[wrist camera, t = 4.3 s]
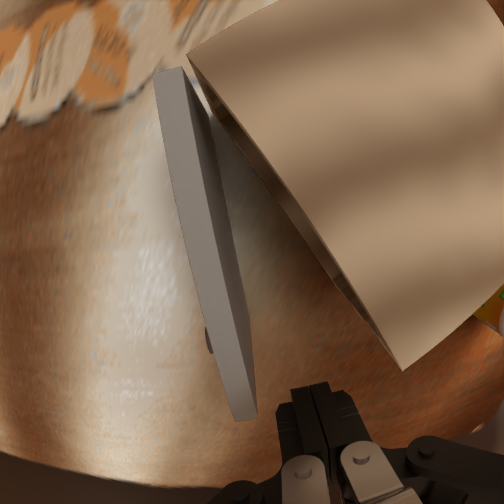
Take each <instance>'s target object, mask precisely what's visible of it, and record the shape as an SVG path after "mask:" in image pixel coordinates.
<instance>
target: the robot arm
mask: <svg viewBox="0 0 504 504" xmlns="http://www.w3.org/2000/svg"><path fill="white" fill-rule="evenodd" d="M290 392H291V398H292V402H288V403H283V404H279V407H278V409H277V411H276V420H277V427H278V434H279V440H280V447H281V454H282V467H281V469H280V470H279V472H278V473H277V474H276V475H275V476H273V477H272V478H270V479H268V480H266V481H264V482H261V483H259V484H256V483H254V482H251V481H245V480H241V481H235V482H232V483H230V484H228V485H226V486H225V487H224V488H223V489H222V490H221V491H220V492H219V493H218V494H217V495H216V496H215V497H214V498H213V499H212V500H211V501H210V502H209V503H207V504H330V499H329V492H328V486H330V480H331V484H332V485H334V484H338V483H339V486H340V490H341V500H342V502H343V504H504V455H501V454H497V453H493V452H489V451H485V450H481V449H477V448H473V447H469V446H466V445H462V444H459V443H455V442H452V441H448V440H445V439H442V438H438V437H435V436H422V437H419V438H416V439H415V440H413V441H412V442H411V443H410V444H409V446H408V447H407V448H398V449H386V448H382V447H379V446H378V445H377V444H375V443H373V441H372V440H371V438H370V436H369V434H368V432H367V430H366V427H365V425H364V423H363V421H362V419H361V417H360V415H359V413H358V410H357V408H356V407H355V404H354V402H353V400H352V398H351V396H350V395H348V394H347V393H346V392H344V391H343V390H341V391H337V392H333V393H332V392H331V389H330V387H329V384H328V382H327V381H326V382H322V383H318V384H313V385H309V387H308V386H305V387H300V388H295V389H290Z"/></svg>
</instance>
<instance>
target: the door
mask: <svg viewBox="0 0 504 504" xmlns="http://www.w3.org/2000/svg"><path fill="white" fill-rule="evenodd" d="M152 75H153V82H154V88H155V94H156V101H157V107H158V113H159V118H160V124H161V130H162V135H163V141H164V146H165V151H166V157H167V162H168V167H169V172H170V177H171V182H172V186H173V191H174V196H175V201H176V205H177V210H178V215H179V219H180V223H181V228H182V232H183V237H184V241H185V245H186V249H187V254H188V258H189V262H190V266H191V270H192V274H193V278H194V282H195V286H196V290H197V294H198V298H199V301H200V305H201V309H202V313H203V317H204V320H205V324H206V327H205V336H206V342H207V346H208V349H209V352H210V353H211V354H213V353H214V356H215V359H216V363H217V366H218V370H219V373H220V376H221V380H222V383H223V386H224V390H225V393H226V396H227V399H228V402H229V406H230V409H231V412H232V415H233V418H234V421H235V422H240V421H246V420H253V419H258V412H257V401H256V389H255V377H254V365H253V353H252V341H251V329H250V318H249V314H248V309H247V304H246V299H245V295H244V290H243V285H242V281H241V276H240V271H239V266H238V261H237V257H236V252H235V247H234V242H233V237H232V232H231V227H230V223H229V218H228V213H227V208H226V203H225V198H224V193H223V188H222V183H221V178H220V173H219V168H218V163H217V157H216V152H215V147H214V142H213V137H212V132H211V126H210V121H209V116H208V114H207V112H206V110H205V108H204V107H203V105H202V103H201V101H200V99H199V97H198V95H197V94H196V92H195V90H194V88H193V86H192V84H191V83H190V81H189V79H188V77H187V75H186V73H185V72H184V70H183V68H182V66H181V67H177V68H173V69H169V70H165V71H162V72H158V73H154V74H152Z"/></svg>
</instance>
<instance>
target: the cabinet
mask: <svg viewBox="0 0 504 504" xmlns="http://www.w3.org/2000/svg"><path fill="white" fill-rule="evenodd" d="M186 55H187V57H188V59H189V62H190V64H191V66H192V68H193V70H194V73H195V75H196V77H197V79H198V82H199V84H200V86H201V88H202V90H203V93H204V95H205V97H206V99H207V102H208V104H209V106H210V108H211V111H212V113H213V114H214V115H215V117H216V118H217V119H218V121H219V122H220V123H221V125H222V126H223V127H224V128H225V130H226V131H227V132H228V134H229V135H230V136H231V138H232V139H233V140H234V142H235V143H236V144H237V146H238V147H239V149H240V150H241V151H242V153H243V154H244V155H245V157H246V158H247V159H248V161H249V162H250V163H251V165H252V166H253V168H254V169H255V170H256V172H257V173H258V174H259V176H260V177H261V179H262V180H263V181H264V183H265V184H266V186H267V187H268V188H269V190H270V191H271V193H272V194H273V195H274V197H275V198H276V200H277V201H278V202H279V204H280V205H281V207H282V208H283V210H284V211H285V212H286V214H287V215H288V217H289V218H290V220H291V221H292V222H293V224H294V225H295V227H296V228H297V230H298V231H299V233H300V234H301V236H302V237H303V238H304V240H305V241H306V243H307V244H308V246H309V247H310V249H311V250H312V252H313V253H314V255H315V256H316V258H317V259H318V261H319V262H320V264H321V265H322V267H323V268H324V270H325V271H326V273H327V274H328V276H329V277H330V279H331V280H332V282H333V283H334V285H335V286H336V287H337V288H338V290H339V291H340V292H341V293H342V295H343V296H344V297H345V298H346V300H347V301H348V302H349V303H350V305H351V306H352V307H353V308H354V310H355V311H356V312H357V313H358V315H359V316H360V317H361V318H362V320H363V321H364V322H365V323H366V325H367V326H368V327H369V328H370V330H371V331H372V332H373V333H374V335H375V336H376V337H377V339H378V340H379V341H380V342H381V344H382V345H383V346H384V348H385V349H386V350H387V351H388V353H389V354H390V355H391V357H392V358H393V359H394V360H395V362H396V363H397V364H398V366H399V367H400V368H401V370H402V371H403V370H404V369H406V368H407V367H409V366H410V365H411V364H413V363H414V362H415V361H417V360H418V359H419V358H420V357H422V356H423V355H424V354H426V353H427V352H428V351H429V350H431V349H432V348H433V347H434V346H436V345H437V344H438V343H439V342H441V341H442V340H443V339H444V338H445V337H447V336H448V335H449V334H450V333H451V332H453V331H454V330H455V329H456V328H457V327H458V326H459V325H461V324H462V323H463V322H464V321H465V320H466V319H467V318H468V317H470V316H471V315H472V314H473V313H474V312H475V311H476V310H477V309H478V308H479V307H480V306H481V305H482V304H484V303H485V302H486V301H487V300H488V299H489V298H490V297H491V296H492V295H493V294H494V293H495V292H496V291H497V290H498V289H499V288H500V287H501V286H502V285H503V284H504V26H503V24H502V23H501V21H500V20H499V18H498V17H497V15H496V14H495V12H494V11H493V9H492V8H491V6H490V5H489V3H488V2H487V0H279V1H277V2H275V3H273V4H271V5H269V6H267V7H265V8H263V9H261V10H259V11H257V12H255V13H254V14H252V15H250V16H248V17H246V18H244V19H242V20H241V21H239V22H237V23H235V24H234V25H232V26H230V27H228V28H227V29H225V30H223V31H222V32H220V33H218V34H217V35H215V36H213V37H212V38H210V39H208V40H207V41H205V42H204V43H202V44H201V45H199V46H197V47H196V48H194V49H193V50H191V51H190V52H188V53H187V54H186Z"/></svg>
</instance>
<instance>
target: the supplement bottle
mask: <svg viewBox="0 0 504 504" xmlns="http://www.w3.org/2000/svg"><path fill="white" fill-rule="evenodd" d="M472 315H474V316H475V317H476V318H478V319H479V320H481V321H482V322H483V323H485V324H486V325H488V326H489V327H490V328H492V329H493V330H495V331H496V332H497V333H499V334H500V335H501V336H502V337H504V284H503V285H502V286H501V287H500V288H499V289H498V290H497V291H496V292H495V293H494V294H493V295H492V296H491V297H490V298H489V299H488V300H487V301H486V302H485V303H484V304H482V305H481V306H480V307H479V308H478V309H477V310H476V311H475V312H474V313H473V314H472Z"/></svg>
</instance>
